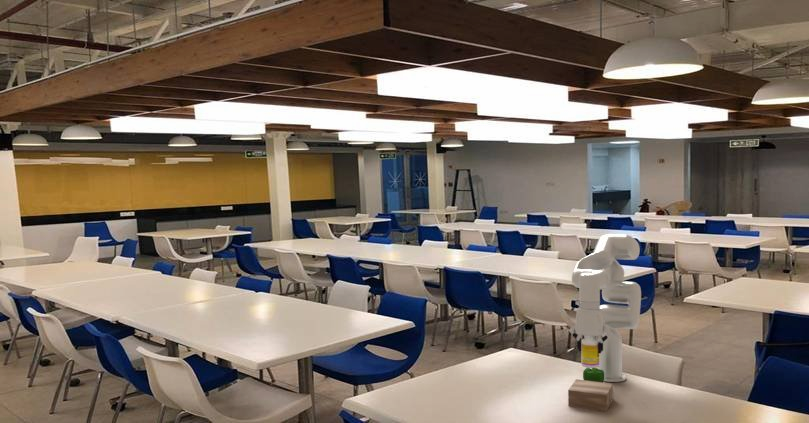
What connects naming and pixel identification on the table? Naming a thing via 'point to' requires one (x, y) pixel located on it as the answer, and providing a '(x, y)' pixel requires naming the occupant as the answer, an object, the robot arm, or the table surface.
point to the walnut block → (590, 394)
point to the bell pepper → (593, 375)
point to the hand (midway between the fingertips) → (590, 351)
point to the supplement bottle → (589, 352)
